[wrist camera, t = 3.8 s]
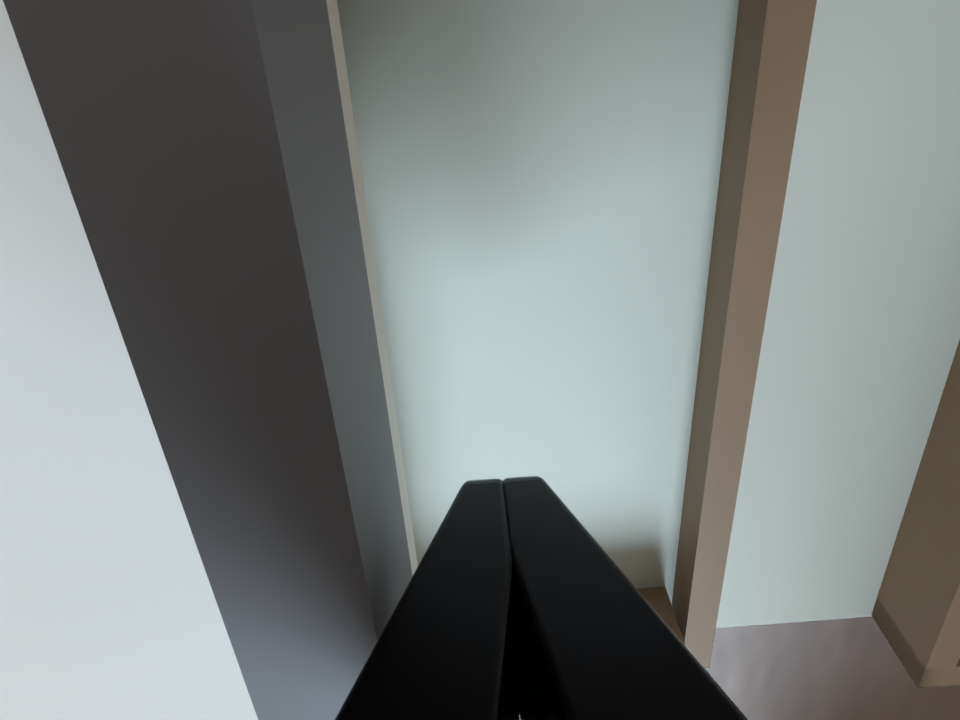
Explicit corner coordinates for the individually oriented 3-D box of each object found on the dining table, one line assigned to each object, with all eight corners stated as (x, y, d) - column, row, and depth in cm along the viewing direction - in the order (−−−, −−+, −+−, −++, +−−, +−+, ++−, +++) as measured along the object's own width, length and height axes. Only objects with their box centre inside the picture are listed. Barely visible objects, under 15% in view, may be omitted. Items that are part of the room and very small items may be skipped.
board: (1253, 525, 15) (1435, 657, 12) (72, 612, 14) (-13, 765, 12) (1745, -228, 8) (2346, -305, 6) (-284, -91, 8) (-630, -107, 6)
